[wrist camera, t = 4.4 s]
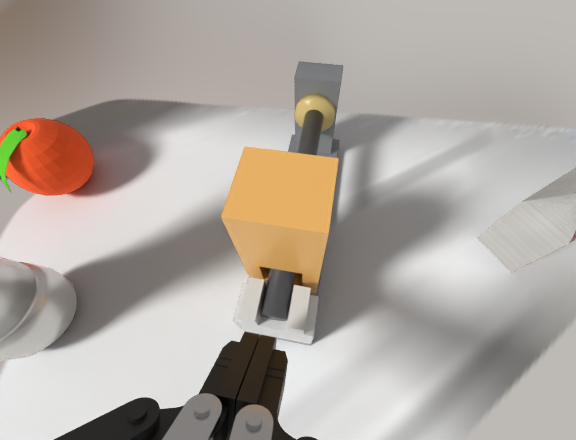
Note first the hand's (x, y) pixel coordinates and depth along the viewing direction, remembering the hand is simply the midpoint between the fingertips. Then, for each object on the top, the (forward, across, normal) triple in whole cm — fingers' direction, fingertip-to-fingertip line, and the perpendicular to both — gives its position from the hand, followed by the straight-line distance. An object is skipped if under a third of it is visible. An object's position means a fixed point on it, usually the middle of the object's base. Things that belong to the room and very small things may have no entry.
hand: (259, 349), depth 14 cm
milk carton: (+16, -19, -3) cm, 25 cm away
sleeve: (+9, 0, -1) cm, 9 cm away
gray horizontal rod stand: (+14, 0, -2) cm, 15 cm away
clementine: (+15, +24, -2) cm, 28 cm away
